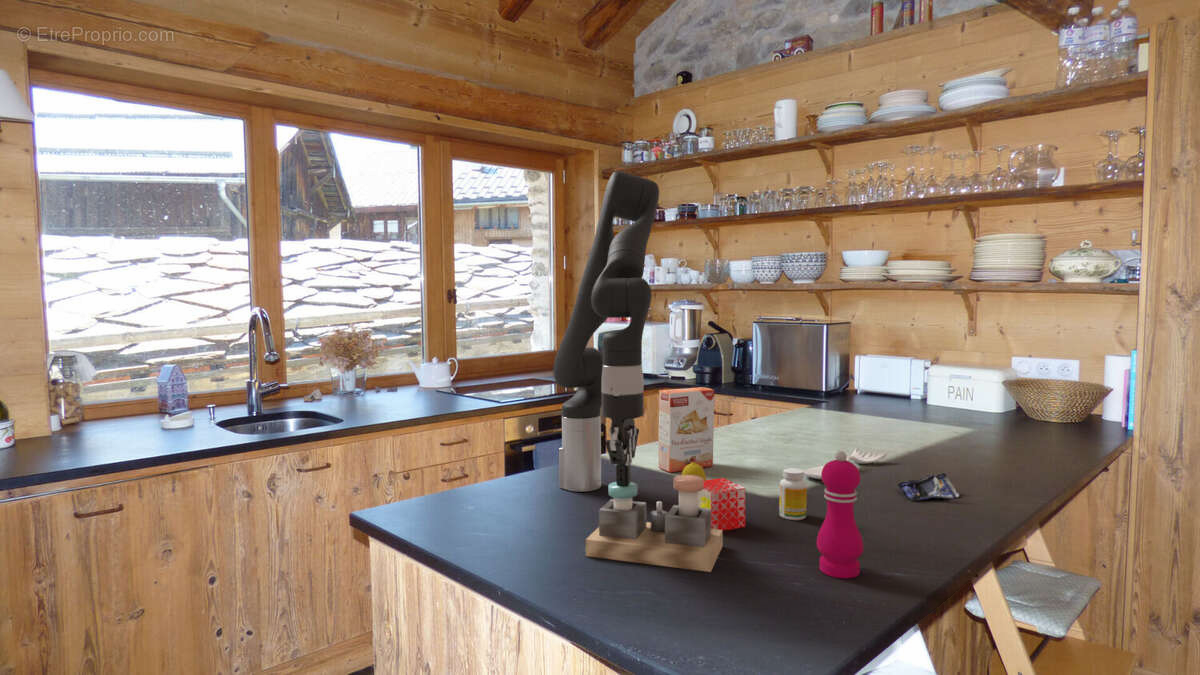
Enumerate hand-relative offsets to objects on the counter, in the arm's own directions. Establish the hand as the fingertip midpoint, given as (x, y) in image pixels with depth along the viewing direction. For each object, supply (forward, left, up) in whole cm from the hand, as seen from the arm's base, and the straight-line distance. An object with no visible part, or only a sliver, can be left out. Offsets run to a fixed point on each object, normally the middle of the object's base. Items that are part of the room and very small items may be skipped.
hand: (623, 485), depth 122 cm
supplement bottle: (+28, +27, -12) cm, 41 cm away
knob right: (+12, 0, -5) cm, 13 cm away
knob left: (0, 0, -7) cm, 7 cm away
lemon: (+6, +34, -12) cm, 36 cm away
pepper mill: (+37, +1, -12) cm, 39 cm away
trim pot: (+6, +3, -9) cm, 11 cm away
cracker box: (-1, +59, -12) cm, 60 cm away
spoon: (+38, +68, -12) cm, 79 cm away
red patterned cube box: (+14, +18, -12) cm, 26 cm away
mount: (+6, 0, -12) cm, 13 cm away
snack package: (+55, +50, -12) cm, 76 cm away
